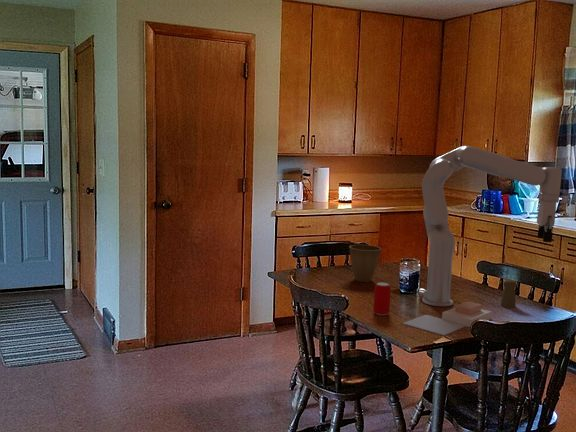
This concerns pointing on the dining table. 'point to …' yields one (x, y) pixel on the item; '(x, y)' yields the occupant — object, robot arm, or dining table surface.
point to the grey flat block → (465, 316)
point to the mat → (434, 325)
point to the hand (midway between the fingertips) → (544, 239)
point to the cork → (508, 294)
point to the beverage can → (382, 299)
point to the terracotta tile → (468, 308)
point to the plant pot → (364, 261)
